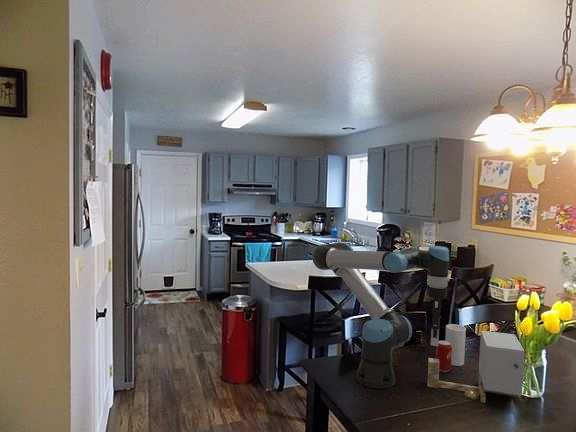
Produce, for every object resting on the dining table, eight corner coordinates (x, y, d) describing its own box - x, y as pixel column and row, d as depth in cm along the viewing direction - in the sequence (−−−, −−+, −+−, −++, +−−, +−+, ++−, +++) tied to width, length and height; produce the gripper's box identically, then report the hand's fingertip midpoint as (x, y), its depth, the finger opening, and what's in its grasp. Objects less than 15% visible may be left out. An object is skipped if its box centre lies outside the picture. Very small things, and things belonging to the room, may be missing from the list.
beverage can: (452, 373, 176) (453, 345, 175) (436, 372, 177) (437, 344, 177) (449, 367, 182) (450, 340, 182) (434, 366, 184) (435, 339, 183)
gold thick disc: (465, 398, 156) (465, 392, 155) (464, 392, 160) (464, 387, 160) (479, 401, 154) (480, 395, 154) (478, 395, 159) (479, 389, 158)
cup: (467, 363, 188) (469, 328, 187) (456, 367, 183) (458, 331, 182) (451, 357, 194) (453, 323, 193) (440, 360, 190) (442, 326, 189)
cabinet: (483, 405, 150) (487, 347, 149) (478, 383, 168) (480, 330, 167) (521, 412, 146) (525, 352, 145) (511, 388, 164) (514, 334, 163)
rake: (427, 393, 159) (428, 367, 158) (427, 382, 168) (428, 357, 167) (485, 402, 152) (486, 376, 152) (482, 391, 161) (483, 365, 161)
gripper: (447, 294, 150) (445, 352, 152) (447, 281, 174) (444, 331, 175) (425, 292, 153) (423, 349, 154) (428, 279, 176) (426, 328, 178)
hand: (434, 339), depth 165 cm, fingers open, 13 cm apart
